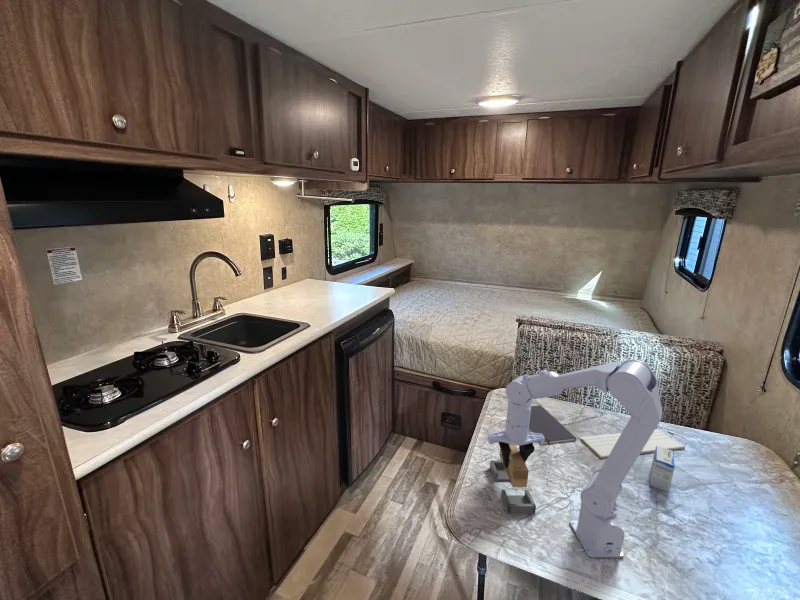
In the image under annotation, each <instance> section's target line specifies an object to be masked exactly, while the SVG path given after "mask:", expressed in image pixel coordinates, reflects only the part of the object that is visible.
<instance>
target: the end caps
mask: <svg viewBox="0 0 800 600" xmlns="http://www.w3.org/2000/svg"><path fill="white" fill-rule="evenodd" d="M489 469H490V472H491V474H492V477H493V480H494V481H495V482H511V481H510V479H509V476H508V474H507V472H506V470H505V467H504V465H503V463H502V460H490V463H489ZM500 499H501V500H502V505H503V506H504V509H505V512H506V514H507V515H536V509H537V505H536V503H535V501H534V499H533V497H532V494H531V493H530V490H529V489H524V495H518V494H517V495H516V494H515V495H514V494H513V495H508V494H507V492H506V490H505V489H501V493H500Z"/></svg>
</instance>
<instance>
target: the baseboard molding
mask: <svg viewBox="0 0 800 600" xmlns="http://www.w3.org/2000/svg"><path fill="white" fill-rule="evenodd" d="M658 428H661V429H663V430H661V429H658ZM664 431H665V432H664ZM621 433H622V432H619V433H608V434H607V433H606V434H598V435H590V436H581V437H578V439H579V440H580V441H581V442H582V443H584V444H585V445H586V446H587V447H588V448H589V450H591V451H592V452H593V453H594V455H596V456H598V457H599V458H600V459H607V458H608V456H609V454H610V453H611V451H612V449H613V447H614V446H615V444H616V442H617V440H618V439H619V437H620V435H621ZM674 435H675V434H674V433H672V432H671V431H669V430H668V431H667V430H665V429H664V428H662V427H660V425H657V427H656V429H655V430H654V432H653V433H652V435H651V437H650V438H649V440H648V442H647V443H646V445H645V446H644V448H643V450H642V451H641V453H640V454H639V455H642V454H648V453H655V449H656V446H659V447H663V448H666V449H669V450H671V451H674V450H682V449H683V450H684V449H685V448H686V446H685V445H686V443H685V442H683V441H682V440H680V438H677V437H675V436H674ZM673 437H674V438H673ZM675 438H676V439H675ZM678 440H679V441H680V442H679V441H678Z"/></svg>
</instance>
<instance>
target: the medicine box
mask: <svg viewBox="0 0 800 600" xmlns="http://www.w3.org/2000/svg"><path fill="white" fill-rule="evenodd" d="M675 468H676V467H675V451H674V450H669V449H666V448H663V447H659V446H656V449H655V452H653V458H652V461H651V467H650V475H649V486H651V487H653V488H656V489H658V490H661V491H664V492H667V493H669V492H670V487H671V485H672V480H673V475H674V471H675Z"/></svg>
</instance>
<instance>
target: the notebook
mask: <svg viewBox="0 0 800 600" xmlns="http://www.w3.org/2000/svg"><path fill="white" fill-rule="evenodd" d="M528 432H532V433H539V434H542V435H543V436H544V438H545V440H544V444H543V445H547V444H548V445H550V444H556V443H563V442H564V443H565V442H572V441H573V442H574V441H577V437H576V436H575V435H574V434H573V433H571V432H570V431H569V430H568V429H567V428H566V427H565V426H564V425H563V424H562V423H561V422H559V420H557V419H556V417H554V416H553V415H552V414H551V413H550V412H549V411H548V410H547V409H545V408H544V407H543V406H542V405H531V413H530V422H529V430H528Z"/></svg>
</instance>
